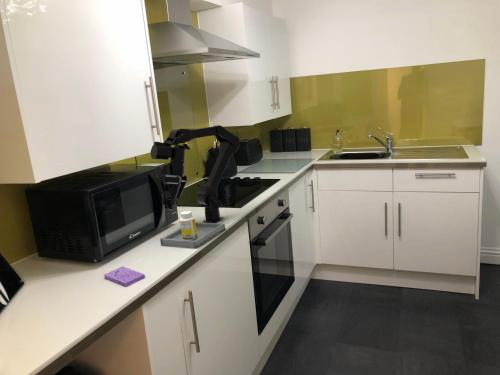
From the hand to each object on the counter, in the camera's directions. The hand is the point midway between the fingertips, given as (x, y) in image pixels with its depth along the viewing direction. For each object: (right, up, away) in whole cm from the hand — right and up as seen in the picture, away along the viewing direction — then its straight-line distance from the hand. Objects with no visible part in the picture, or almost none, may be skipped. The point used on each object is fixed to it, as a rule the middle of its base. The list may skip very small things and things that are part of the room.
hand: (175, 199), depth 164 cm
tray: (+8, -14, -7) cm, 18 cm away
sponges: (-9, -24, -37) cm, 44 cm away
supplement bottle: (+8, -14, -11) cm, 19 cm away
